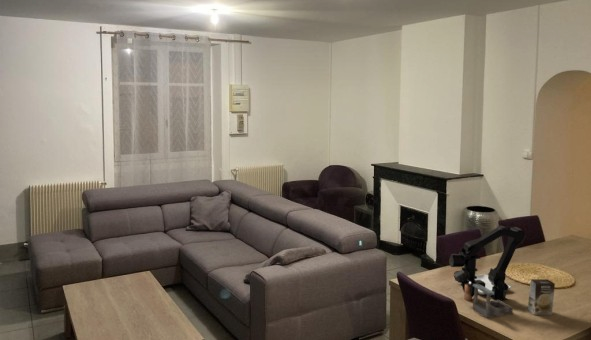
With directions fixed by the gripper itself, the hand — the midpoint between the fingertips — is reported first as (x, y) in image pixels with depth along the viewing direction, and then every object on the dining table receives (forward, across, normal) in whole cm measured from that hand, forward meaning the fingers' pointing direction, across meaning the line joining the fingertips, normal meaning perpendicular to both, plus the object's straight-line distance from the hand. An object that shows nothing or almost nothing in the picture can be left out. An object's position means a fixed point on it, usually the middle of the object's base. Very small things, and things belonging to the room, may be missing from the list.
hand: (468, 294), depth 259 cm
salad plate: (+3, -11, +18) cm, 21 cm away
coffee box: (+3, +24, +24) cm, 34 cm away
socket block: (+2, +16, +2) cm, 16 cm away
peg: (+2, 0, 0) cm, 2 cm away
